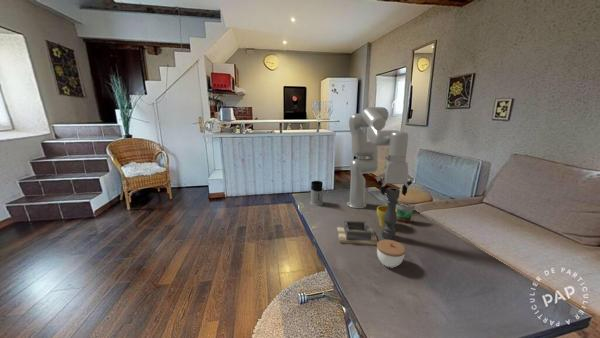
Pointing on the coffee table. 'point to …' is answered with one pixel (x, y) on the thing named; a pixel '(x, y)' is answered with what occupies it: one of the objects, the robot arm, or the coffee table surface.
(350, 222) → the socket board
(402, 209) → the food container
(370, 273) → the coffee table surface
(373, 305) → the coffee table surface
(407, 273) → the coffee table surface
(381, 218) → the plant pot
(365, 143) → the robot arm
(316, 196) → the glass holder
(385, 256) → the lidded jar
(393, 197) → the candle holder
